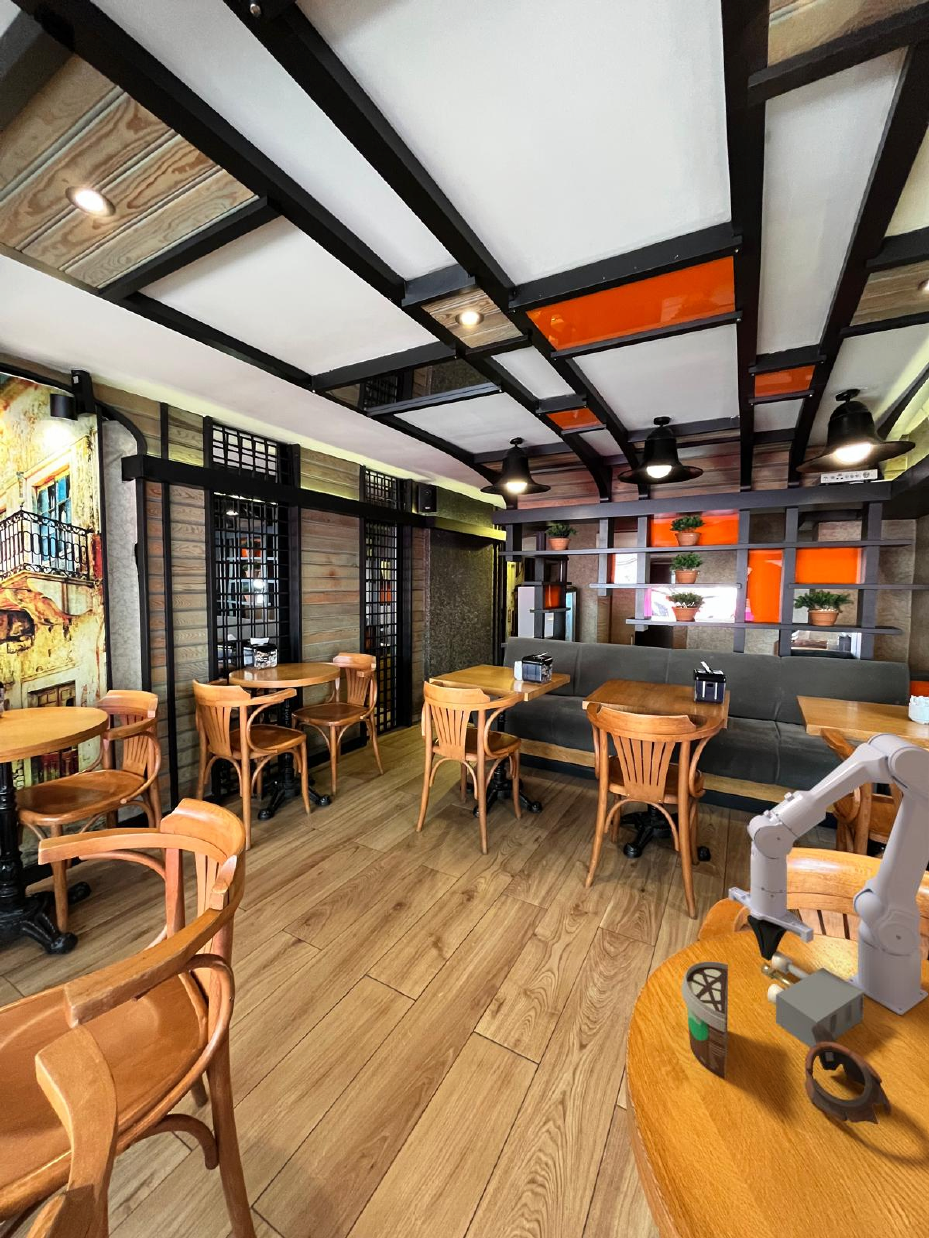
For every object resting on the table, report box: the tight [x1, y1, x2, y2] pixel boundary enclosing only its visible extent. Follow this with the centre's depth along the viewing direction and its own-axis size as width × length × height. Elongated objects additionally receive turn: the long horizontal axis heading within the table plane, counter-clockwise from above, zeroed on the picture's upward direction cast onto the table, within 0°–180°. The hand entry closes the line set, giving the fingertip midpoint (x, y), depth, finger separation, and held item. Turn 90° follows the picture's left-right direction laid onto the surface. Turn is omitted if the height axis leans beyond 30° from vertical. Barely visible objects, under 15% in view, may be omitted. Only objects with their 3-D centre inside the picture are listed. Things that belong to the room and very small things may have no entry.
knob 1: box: [766, 983, 785, 1006], centre depth 79 cm, size 3×7×3 cm, turn 26°
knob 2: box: [771, 950, 810, 981], centre depth 87 cm, size 3×7×3 cm, turn 26°
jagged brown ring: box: [804, 1024, 892, 1125], centre depth 68 cm, size 12×10×8 cm
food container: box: [681, 960, 729, 1080], centre depth 76 cm, size 12×6×10 cm, turn 150°
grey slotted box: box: [775, 967, 864, 1049], centre depth 80 cm, size 13×6×5 cm, turn 116°
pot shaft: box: [760, 962, 795, 988], centre depth 85 cm, size 2×7×2 cm, turn 26°
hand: (768, 956), depth 92 cm, fingers closed
